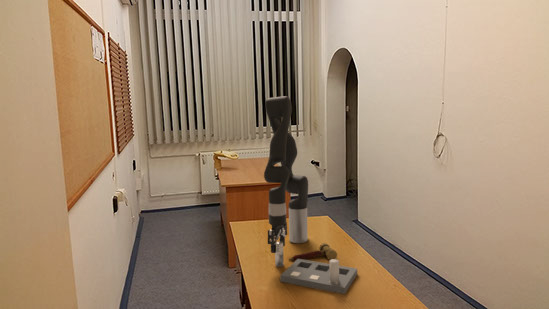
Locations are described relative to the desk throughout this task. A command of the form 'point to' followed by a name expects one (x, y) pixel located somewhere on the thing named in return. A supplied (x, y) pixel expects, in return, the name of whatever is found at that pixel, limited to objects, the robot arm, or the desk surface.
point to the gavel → (317, 253)
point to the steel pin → (279, 255)
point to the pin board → (320, 275)
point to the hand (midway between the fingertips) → (278, 249)
